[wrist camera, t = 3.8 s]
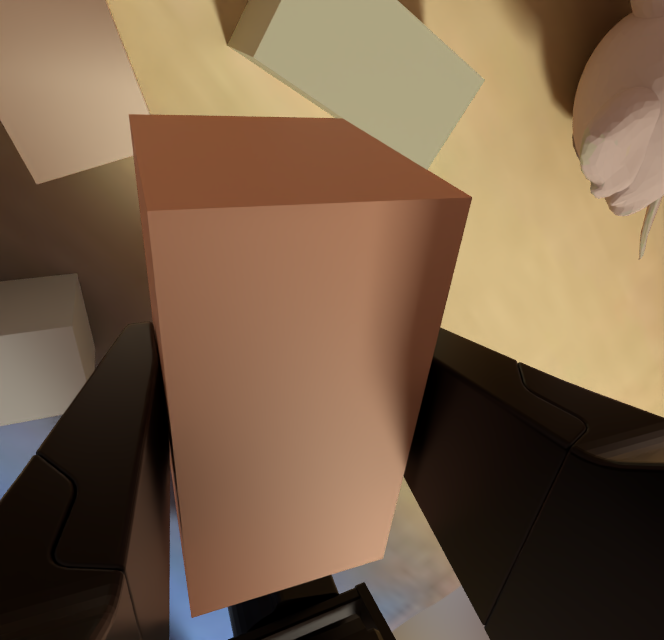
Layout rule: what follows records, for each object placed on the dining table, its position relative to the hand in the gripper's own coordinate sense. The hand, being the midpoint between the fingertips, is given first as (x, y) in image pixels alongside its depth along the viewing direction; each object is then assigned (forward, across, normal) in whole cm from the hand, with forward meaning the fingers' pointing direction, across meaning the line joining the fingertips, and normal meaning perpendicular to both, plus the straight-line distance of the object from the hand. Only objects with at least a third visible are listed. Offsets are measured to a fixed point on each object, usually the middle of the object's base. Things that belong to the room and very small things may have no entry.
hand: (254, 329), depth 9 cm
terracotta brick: (+1, 0, 0) cm, 1 cm away
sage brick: (+12, -6, -3) cm, 14 cm away
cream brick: (+12, +3, -4) cm, 13 cm away
